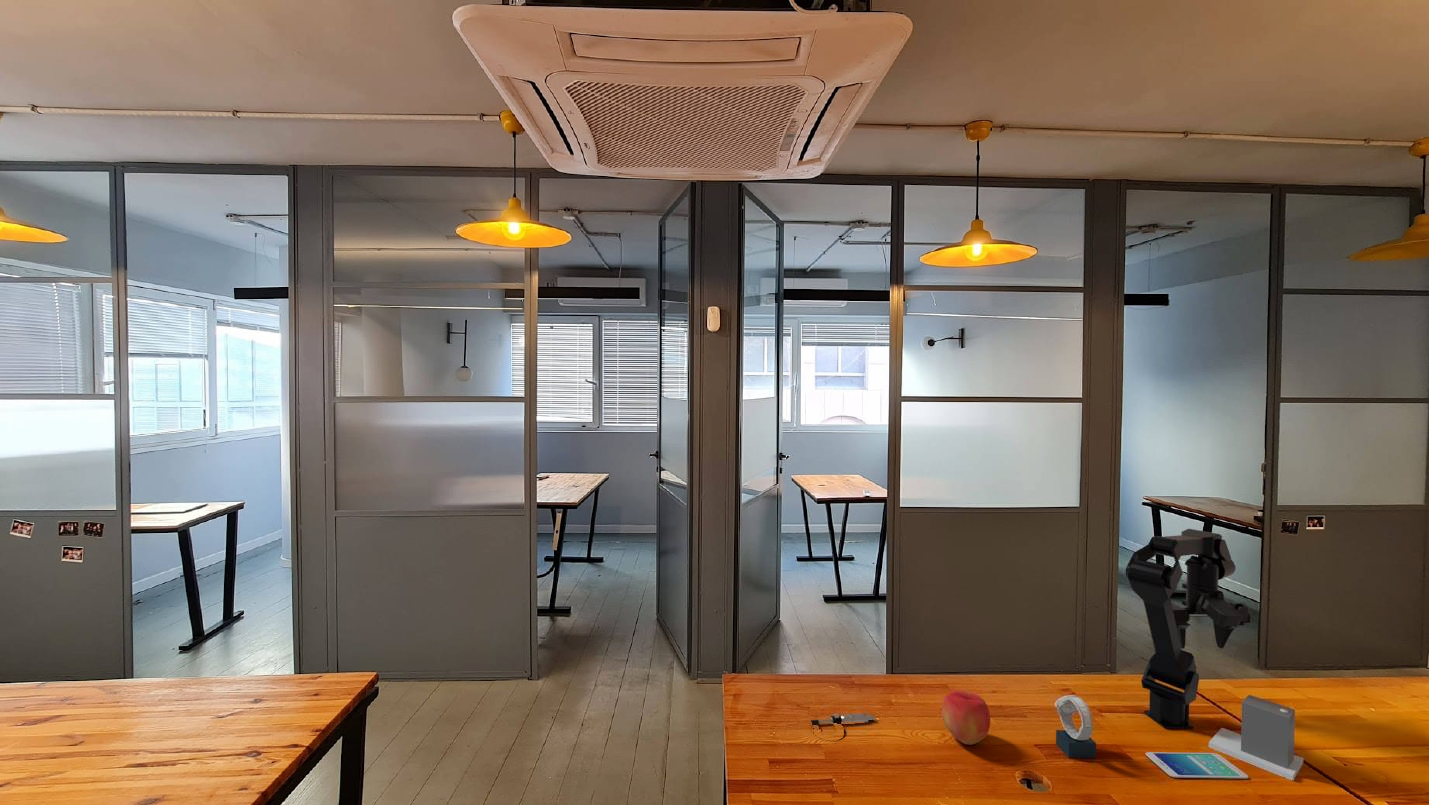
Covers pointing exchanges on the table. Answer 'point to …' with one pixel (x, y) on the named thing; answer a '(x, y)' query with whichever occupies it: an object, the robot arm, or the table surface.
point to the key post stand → (1232, 747)
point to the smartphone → (1195, 765)
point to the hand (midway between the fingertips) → (1200, 648)
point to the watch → (1070, 738)
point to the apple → (966, 716)
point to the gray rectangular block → (1268, 731)
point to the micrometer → (845, 718)
